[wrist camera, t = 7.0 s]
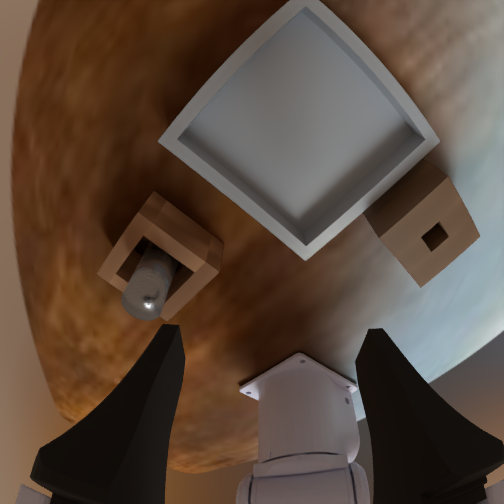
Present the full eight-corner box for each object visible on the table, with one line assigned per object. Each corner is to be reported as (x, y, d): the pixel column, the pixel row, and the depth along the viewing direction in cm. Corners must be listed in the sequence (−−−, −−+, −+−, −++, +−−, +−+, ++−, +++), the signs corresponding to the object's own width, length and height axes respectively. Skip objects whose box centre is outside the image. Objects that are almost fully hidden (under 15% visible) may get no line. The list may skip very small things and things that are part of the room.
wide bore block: (224, 244, 20) (219, 272, 18) (176, 292, 22) (167, 321, 20) (154, 190, 18) (137, 212, 16) (113, 248, 20) (96, 273, 18)
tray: (421, 131, 16) (440, 141, 14) (301, 240, 20) (305, 261, 18) (298, -2, 12) (304, -12, 10) (169, 132, 16) (157, 141, 14)
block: (449, 206, 18) (480, 236, 15) (398, 251, 20) (420, 287, 17) (415, 153, 16) (448, 176, 13) (358, 205, 18) (379, 238, 15)
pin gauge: (190, 242, 20) (169, 305, 15) (172, 263, 21) (148, 326, 16) (163, 222, 19) (133, 280, 14) (146, 244, 20) (115, 304, 15)
